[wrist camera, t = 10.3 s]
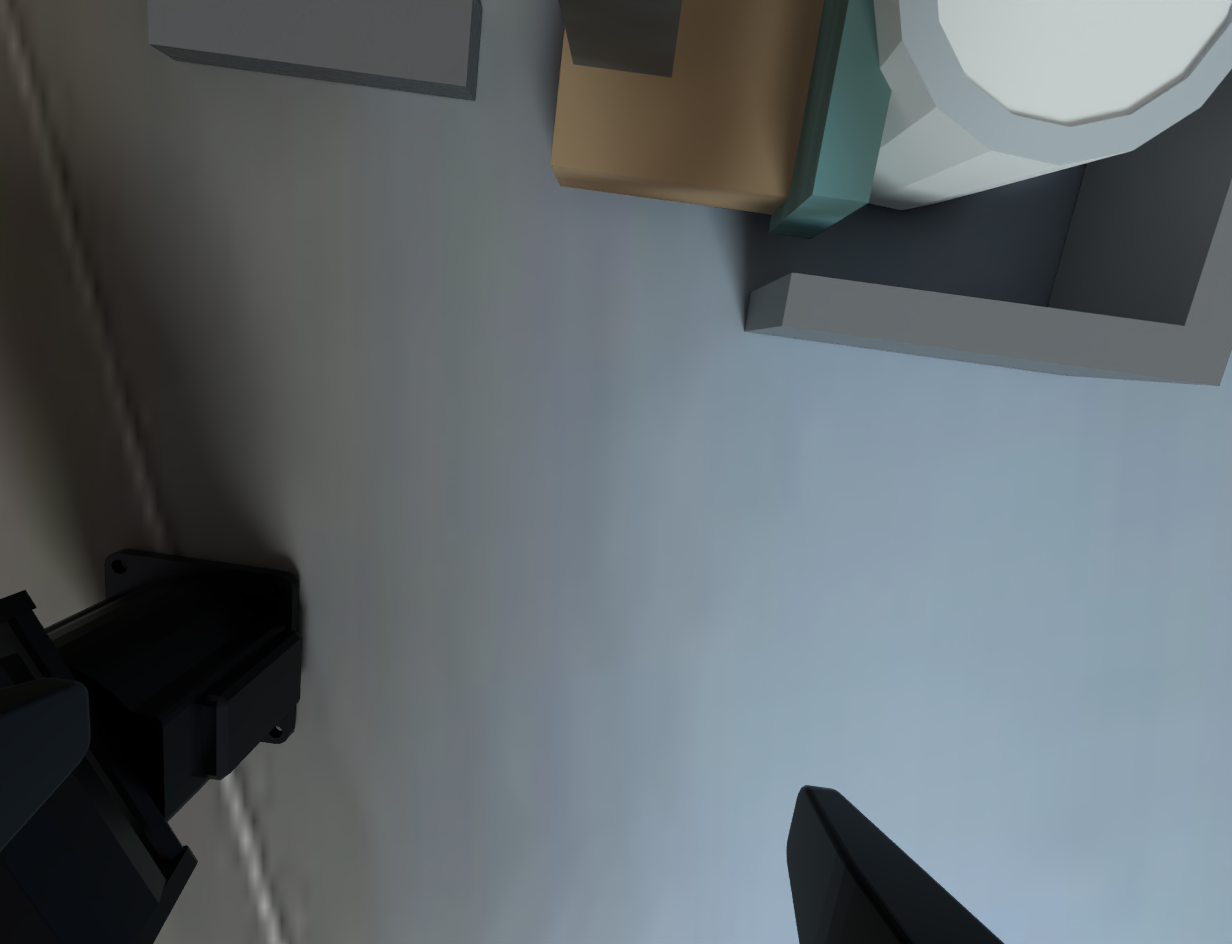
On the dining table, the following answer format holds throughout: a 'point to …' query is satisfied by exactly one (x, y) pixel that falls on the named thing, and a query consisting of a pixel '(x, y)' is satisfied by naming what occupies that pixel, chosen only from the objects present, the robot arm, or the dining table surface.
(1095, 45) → the white cylinder
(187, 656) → the robot arm
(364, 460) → the dining table surface
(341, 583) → the dining table surface
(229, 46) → the rail
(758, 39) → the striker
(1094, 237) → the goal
